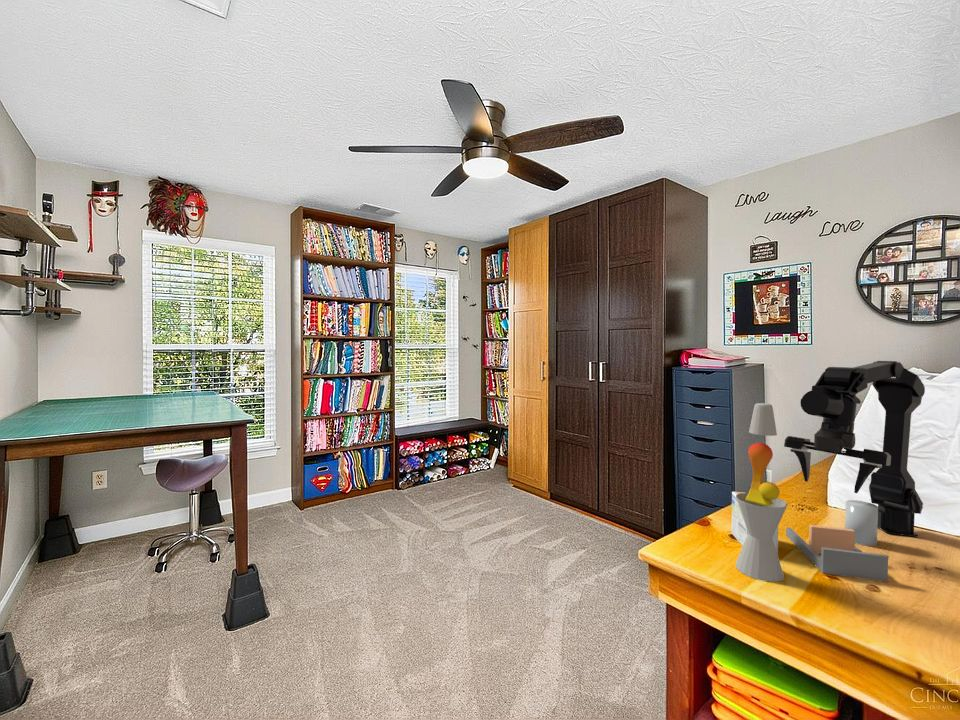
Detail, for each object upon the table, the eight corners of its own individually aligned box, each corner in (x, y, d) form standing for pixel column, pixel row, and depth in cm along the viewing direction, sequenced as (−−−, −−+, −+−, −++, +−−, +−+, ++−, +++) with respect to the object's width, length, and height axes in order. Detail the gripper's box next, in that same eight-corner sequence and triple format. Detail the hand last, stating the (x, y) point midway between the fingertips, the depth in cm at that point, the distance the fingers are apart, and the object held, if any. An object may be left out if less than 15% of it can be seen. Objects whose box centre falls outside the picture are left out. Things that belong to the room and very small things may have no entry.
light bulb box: (778, 554, 100) (780, 507, 100) (746, 551, 101) (747, 505, 101) (759, 535, 110) (760, 492, 110) (729, 533, 112) (730, 490, 112)
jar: (868, 537, 110) (869, 501, 110) (882, 547, 104) (883, 509, 104) (839, 534, 112) (840, 499, 112) (852, 544, 106) (853, 507, 106)
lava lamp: (726, 568, 93) (730, 402, 92) (744, 556, 99) (749, 400, 98) (775, 587, 86) (780, 407, 85) (792, 573, 92) (797, 404, 91)
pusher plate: (851, 555, 99) (852, 529, 99) (854, 558, 98) (855, 531, 98) (808, 550, 101) (809, 524, 101) (810, 553, 100) (811, 526, 100)
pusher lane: (837, 540, 108) (838, 520, 108) (887, 581, 89) (888, 556, 89) (785, 535, 111) (786, 515, 111) (822, 573, 92) (823, 549, 92)
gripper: (780, 411, 105) (772, 476, 105) (885, 425, 91) (876, 501, 90) (795, 414, 112) (787, 476, 112) (895, 428, 98) (886, 498, 97)
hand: (830, 487), depth 103 cm, fingers open, 9 cm apart
